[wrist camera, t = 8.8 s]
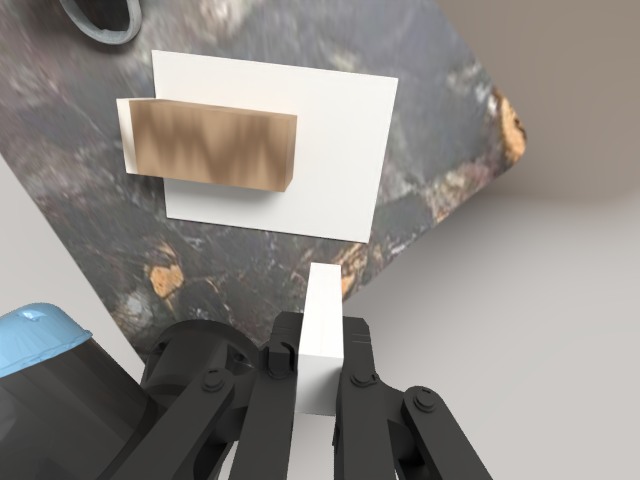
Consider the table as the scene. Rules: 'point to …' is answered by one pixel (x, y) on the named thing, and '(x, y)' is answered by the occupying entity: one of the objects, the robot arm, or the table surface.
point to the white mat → (310, 148)
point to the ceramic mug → (105, 35)
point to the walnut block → (208, 143)
